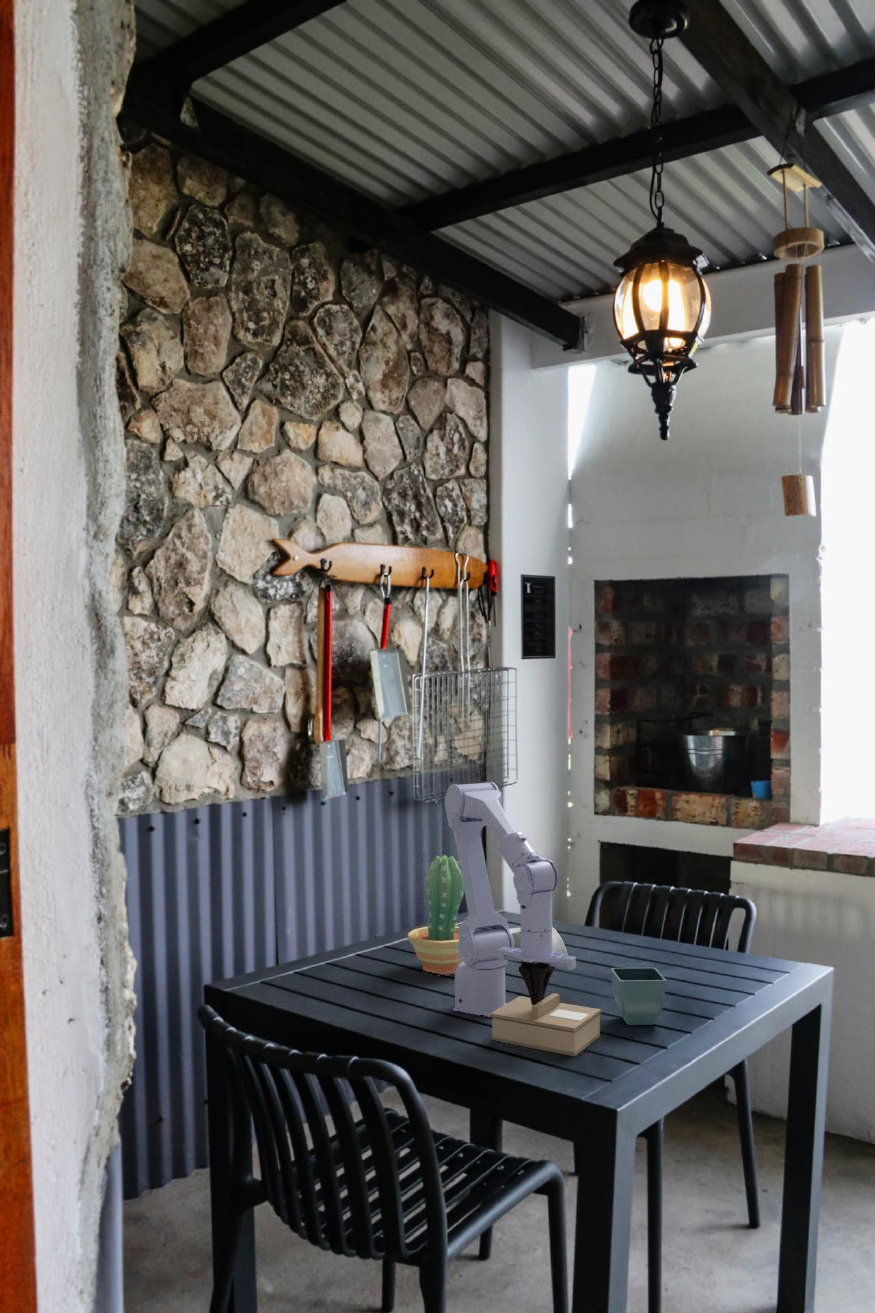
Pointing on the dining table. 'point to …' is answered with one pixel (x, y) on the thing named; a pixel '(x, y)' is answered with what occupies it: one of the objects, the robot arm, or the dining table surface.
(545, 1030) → the box
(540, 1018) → the mailer lid
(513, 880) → the robot arm
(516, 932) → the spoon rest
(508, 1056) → the dining table surface
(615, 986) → the flower pot
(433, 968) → the potted cactus
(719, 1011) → the dining table surface
